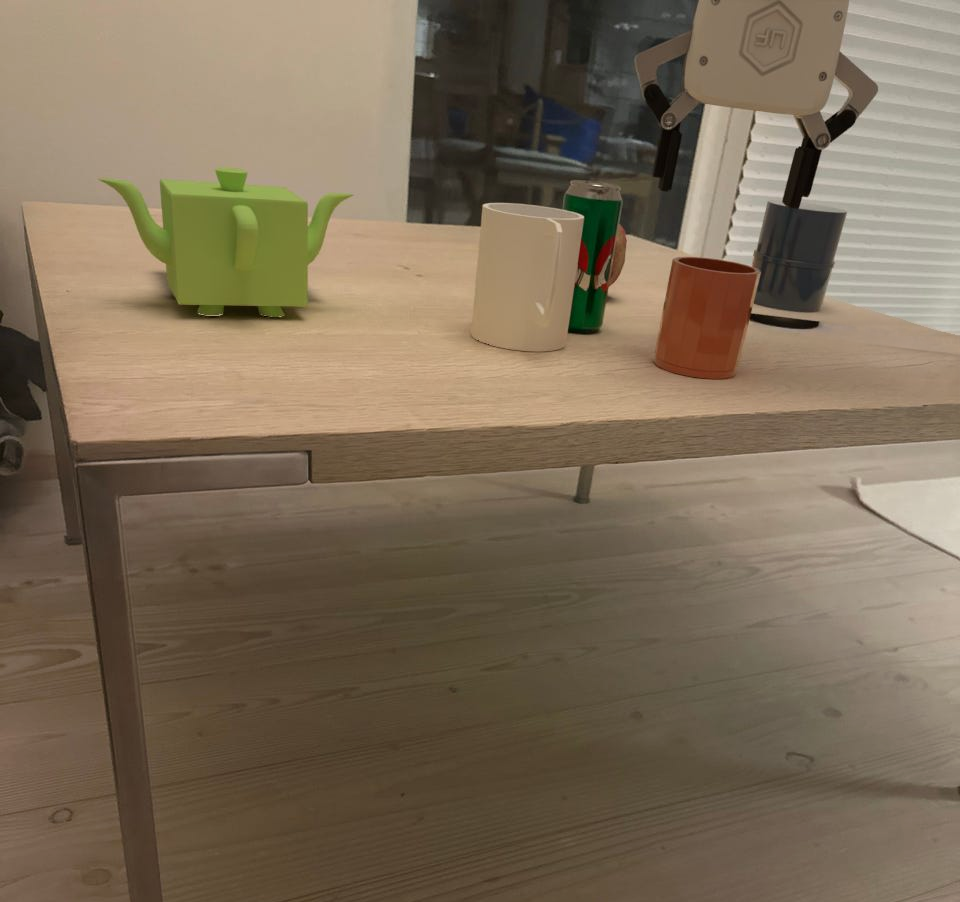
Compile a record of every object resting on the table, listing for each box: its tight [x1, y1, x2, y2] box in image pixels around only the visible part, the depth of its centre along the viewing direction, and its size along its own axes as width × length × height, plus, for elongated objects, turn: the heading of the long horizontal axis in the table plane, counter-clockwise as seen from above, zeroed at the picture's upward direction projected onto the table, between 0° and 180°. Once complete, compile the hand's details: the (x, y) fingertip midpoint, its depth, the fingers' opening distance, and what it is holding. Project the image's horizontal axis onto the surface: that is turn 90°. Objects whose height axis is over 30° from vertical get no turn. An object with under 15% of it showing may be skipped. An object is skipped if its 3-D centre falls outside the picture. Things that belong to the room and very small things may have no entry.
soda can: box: [561, 179, 624, 334], centre depth 82 cm, size 5×5×12 cm
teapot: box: [97, 167, 354, 317], centre depth 76 cm, size 15×13×11 cm
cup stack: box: [749, 199, 848, 330], centre depth 95 cm, size 8×8×11 cm
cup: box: [470, 202, 584, 353], centre depth 75 cm, size 8×12×10 cm
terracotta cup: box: [653, 256, 761, 380], centre depth 75 cm, size 7×7×8 cm
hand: (727, 198), depth 70 cm, fingers open, 9 cm apart
